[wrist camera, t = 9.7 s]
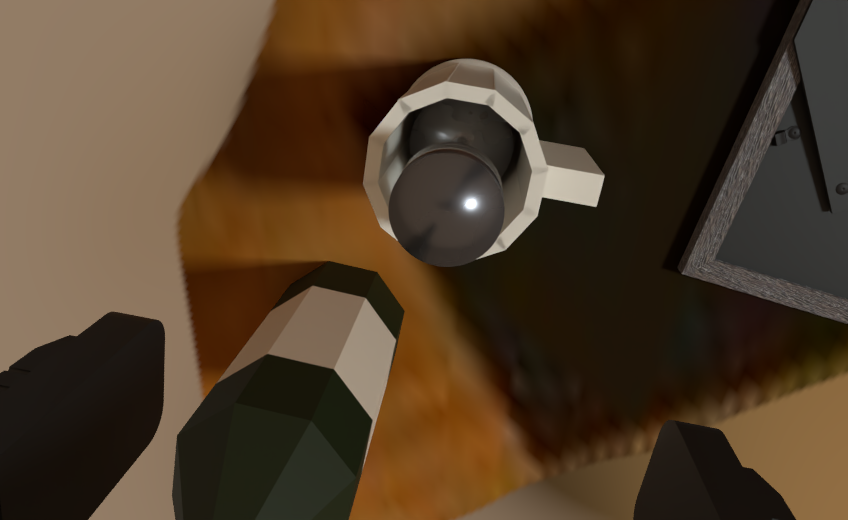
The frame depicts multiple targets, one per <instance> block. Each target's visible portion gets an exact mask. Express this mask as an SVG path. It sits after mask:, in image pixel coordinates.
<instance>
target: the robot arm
mask: <svg viewBox="0 0 848 520" xmlns="http://www.w3.org/2000/svg"><path fill="white" fill-rule="evenodd" d="M164 352H165V331H164V327H163V324H162V323H161V322H160V321H159V320H154V319H149V318H144V317H139V316H134V315H129V314H123V313H118V312H110V313H107V314H106V315H104V316H103V317H102V318H101V319H99V320H98V321H97V322H95V323H94V324H93V325H91V326H90V327H89V328H88V329H86V330H85V331H83V332H82V333H81V334H79V335H78V336H71V335H69V336H67V337H64V338H61V339H59V340H56V341H54V342H51V343H48V344H45V345H43V346H40V347H37V348H35V349H34V350H32V351H31V352H29V353H28V354H27V355H25V356H24V357H22V358H21V359H20V360H18V361H17V362H16V363H14V364H13V365H11V366H10V367H9V370H8V371H3V372H1V373H0V520H88V519H89V518H90V516H91V515H92V514H93V513H94V512H95V510H96V509H97V508H98V507H99V505H100V504H101V503H102V502H103V500H104V499H105V497H106V496H107V495H108V494H109V493H110V492H111V490H112V489H113V488H114V487H115V486H116V484H117V483H118V482H119V481H120V479H121V478H122V477H123V476H124V474H125V473H126V472H127V471H128V470H129V468H130V467H131V466H132V465H133V463H134V462H135V461H136V460H137V458H138V457H139V456H140V455H141V453H142V452H143V451H144V450H145V449H146V447H147V446H148V445H149V443H150V442H151V440H152V439H153V437H154V435H155V433H156V431H157V428H158V426H159V423H160V420H161V416H162V411H163V401H164V399H163V398H164V354H165V353H164ZM633 519H634V520H796V519H795V517H794V516H793V514H792V512H791V511H790V509H789V508H788V506H787V504H786V503H785V501H784V499H783V498H782V496H781V495H780V494H779V493H778V492H777V491H776V490H775V489H774V488H772V487H771V485H769V484H768V483H767V482H766V481H765V480H764V479H763V478H762V477H761V476H760V475H759V474H758V473H757V472H755V471H754V470H753V469H750V468H745V467H742V465H741V463H740V462H739V460H738V458H737V456H736V455H735V453H734V451H733V449H732V447H731V446H730V444H729V442H728V440H727V439H726V437H725V435H724V434H723V432H722V431H721V430H719V429H716V428H710V427H705V426H700V425H695V424H690V423H684V422H679V421H674V420H668V421H667V422H666V423H665V424H664V425H663V427H662V428H661V431H660V433H659V436H658V439H657V442H656V444H655V447H654V450H653V453H652V456H651V459H650V462H649V465H648V468H647V471H646V474H645V476H644V479H643V482H642V485H641V488H640V491H639V494H638V496H637V500H636V504H635V509H634V518H633Z"/></svg>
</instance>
